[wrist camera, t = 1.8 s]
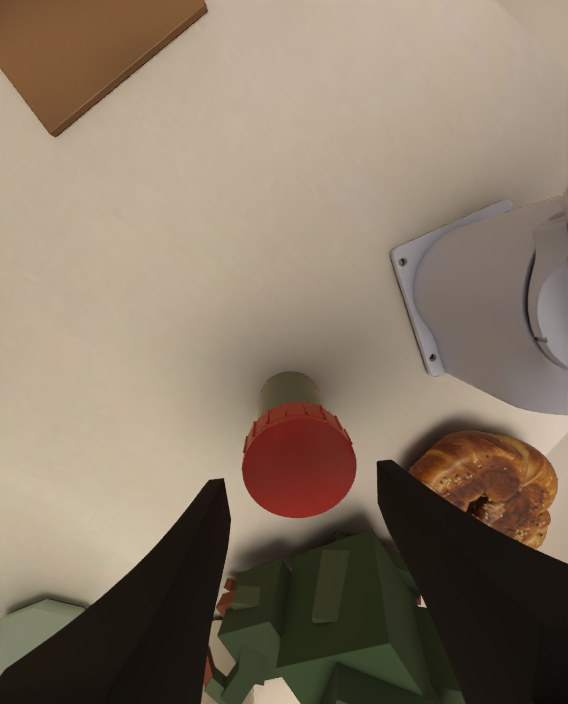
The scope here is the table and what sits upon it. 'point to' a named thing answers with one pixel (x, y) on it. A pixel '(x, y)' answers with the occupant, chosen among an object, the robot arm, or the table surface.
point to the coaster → (82, 48)
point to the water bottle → (32, 628)
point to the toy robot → (332, 630)
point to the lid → (298, 460)
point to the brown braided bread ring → (492, 481)
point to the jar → (288, 391)
